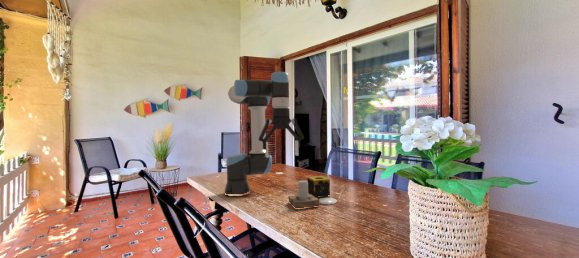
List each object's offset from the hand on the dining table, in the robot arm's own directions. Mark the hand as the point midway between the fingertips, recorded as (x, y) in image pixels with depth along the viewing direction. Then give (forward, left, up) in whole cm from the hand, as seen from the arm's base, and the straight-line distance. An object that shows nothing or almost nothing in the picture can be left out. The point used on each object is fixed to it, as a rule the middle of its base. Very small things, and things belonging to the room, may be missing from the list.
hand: (282, 156), depth 119 cm
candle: (-27, +28, -27) cm, 47 cm away
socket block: (-13, +14, -27) cm, 33 cm away
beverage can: (-13, +14, -27) cm, 33 cm away
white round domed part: (-13, +27, -27) cm, 40 cm away
